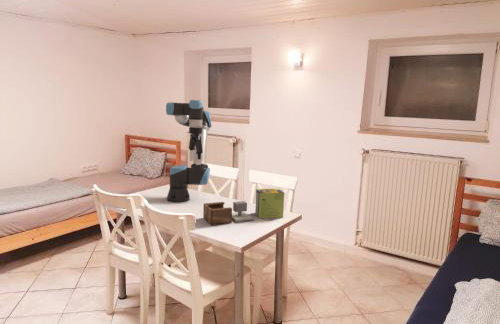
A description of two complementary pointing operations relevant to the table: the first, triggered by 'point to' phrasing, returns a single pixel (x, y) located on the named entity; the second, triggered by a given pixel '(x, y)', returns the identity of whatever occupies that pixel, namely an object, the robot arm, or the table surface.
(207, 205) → the walnut box
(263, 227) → the table surface
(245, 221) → the rubber mat
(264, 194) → the protein box
